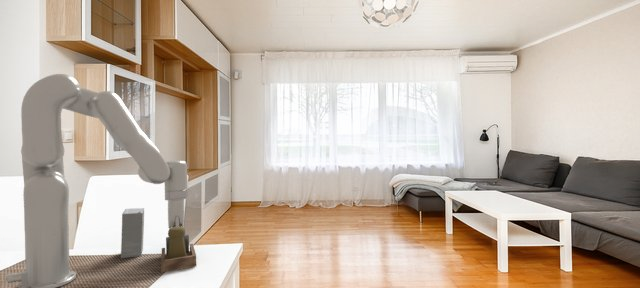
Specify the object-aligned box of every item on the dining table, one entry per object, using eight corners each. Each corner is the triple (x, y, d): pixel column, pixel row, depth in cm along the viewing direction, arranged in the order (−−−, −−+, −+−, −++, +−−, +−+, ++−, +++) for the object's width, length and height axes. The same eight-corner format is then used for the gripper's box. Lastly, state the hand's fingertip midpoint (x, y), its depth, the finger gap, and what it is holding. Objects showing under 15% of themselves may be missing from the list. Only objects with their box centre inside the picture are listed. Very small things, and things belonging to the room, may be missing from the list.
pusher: (166, 255, 109) (166, 238, 109) (166, 254, 110) (166, 237, 110) (189, 252, 112) (188, 235, 112) (188, 251, 113) (188, 234, 113)
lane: (161, 272, 97) (161, 261, 97) (161, 257, 110) (161, 248, 110) (196, 266, 102) (196, 255, 102) (192, 252, 114) (192, 243, 114)
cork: (181, 264, 101) (181, 229, 101) (163, 264, 102) (162, 229, 102) (190, 257, 107) (189, 224, 107) (172, 257, 108) (172, 225, 108)
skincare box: (123, 252, 117) (122, 208, 117) (145, 249, 120) (144, 206, 120) (120, 259, 109) (119, 213, 109) (143, 256, 112) (143, 211, 112)
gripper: (164, 193, 120) (165, 241, 120) (164, 198, 106) (165, 253, 106) (186, 191, 123) (187, 238, 123) (189, 196, 110) (190, 249, 110)
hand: (177, 245), depth 115 cm, fingers closed
